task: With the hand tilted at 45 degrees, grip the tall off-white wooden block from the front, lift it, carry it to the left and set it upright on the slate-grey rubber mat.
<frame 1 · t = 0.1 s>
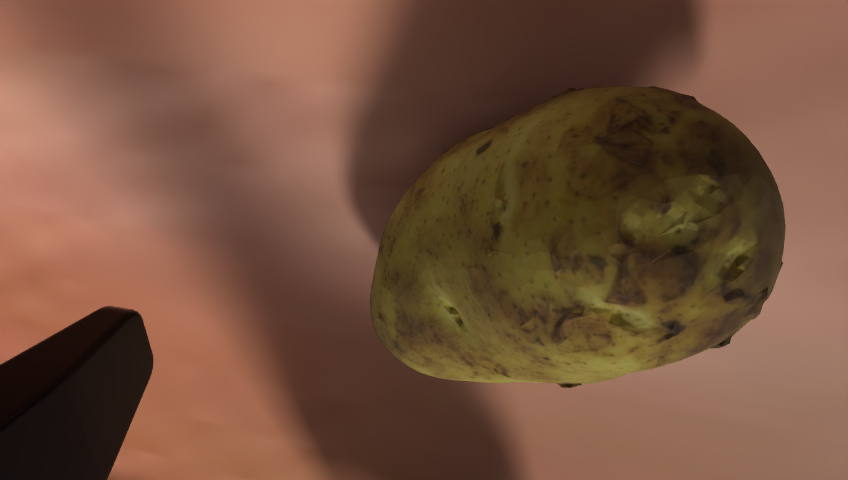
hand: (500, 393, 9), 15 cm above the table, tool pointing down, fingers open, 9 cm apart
potato: (543, 178, 24), on the table
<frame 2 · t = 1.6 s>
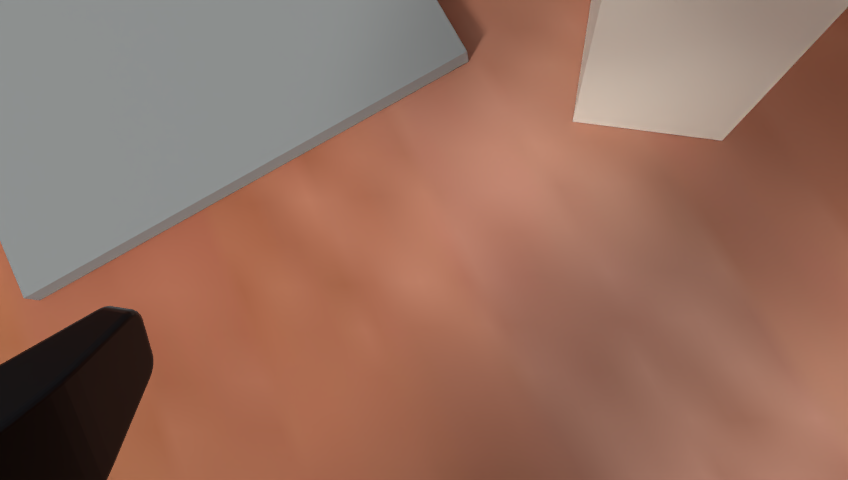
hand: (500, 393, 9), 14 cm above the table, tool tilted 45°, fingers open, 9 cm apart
tall block: (655, 61, 23), on the table
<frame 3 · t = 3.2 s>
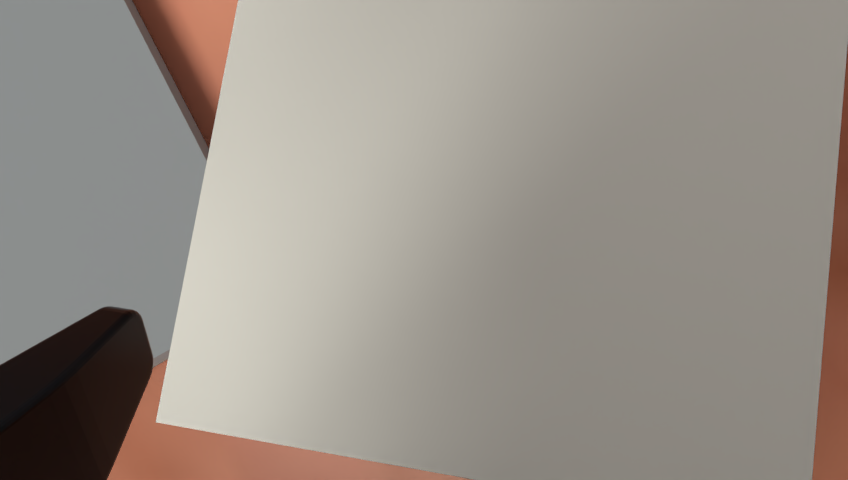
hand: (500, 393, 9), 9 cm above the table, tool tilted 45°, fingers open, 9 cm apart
tall block: (516, 297, 18), on the table
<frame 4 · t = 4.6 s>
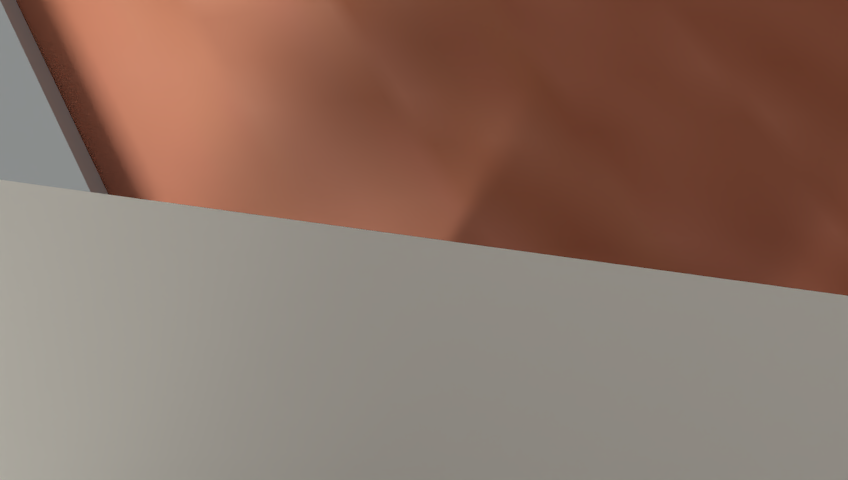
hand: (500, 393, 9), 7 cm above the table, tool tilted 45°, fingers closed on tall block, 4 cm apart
tall block: (500, 445, 15), on the table, touching gripper
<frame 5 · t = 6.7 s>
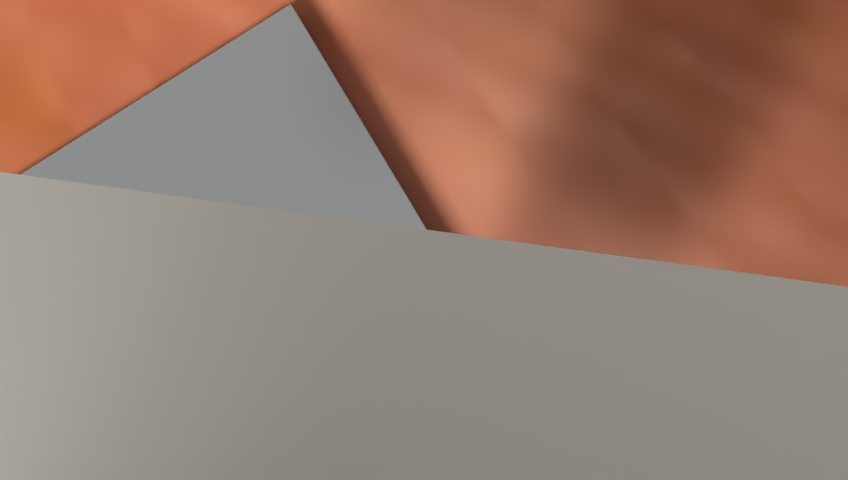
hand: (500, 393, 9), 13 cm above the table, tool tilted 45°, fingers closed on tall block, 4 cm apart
rubber mat: (201, 357, 23), on the table
tall block: (502, 444, 15), point 7 cm above the table, touching gripper
when the fingers open (9 cm above the table, at t = 8.8 s): tall block drops 1 cm, resting on rubber mat.
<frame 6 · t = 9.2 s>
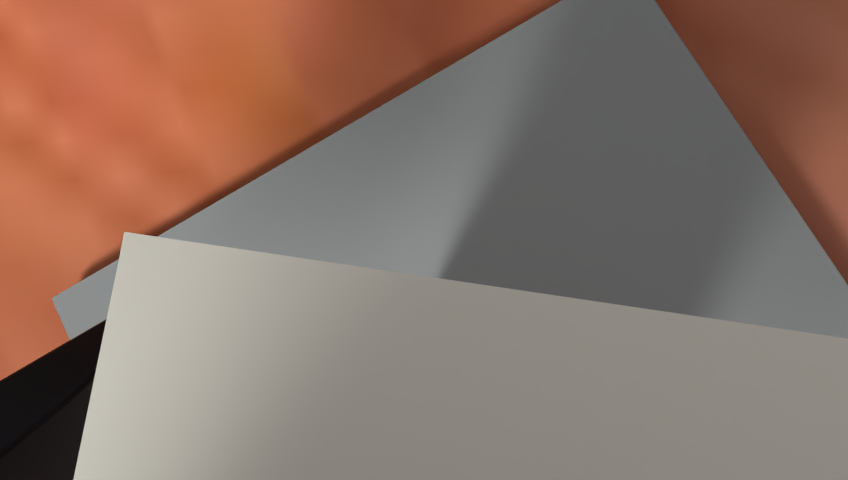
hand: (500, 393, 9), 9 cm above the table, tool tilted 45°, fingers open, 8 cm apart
rubber mat: (503, 431, 17), on the table
tall block: (505, 435, 16), point 1 cm above the table, touching rubber mat
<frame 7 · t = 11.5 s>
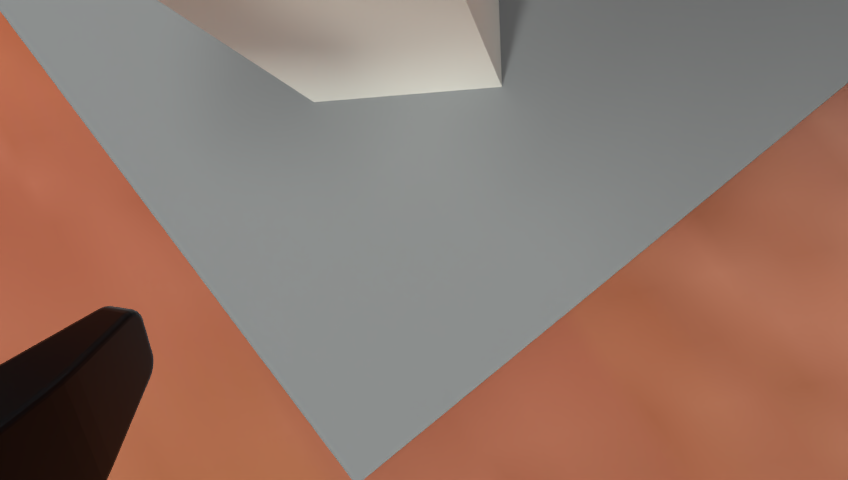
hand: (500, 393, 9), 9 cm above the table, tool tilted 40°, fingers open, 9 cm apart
rubber mat: (407, 13, 18), on the table
tall block: (402, 0, 18), point 1 cm above the table, touching rubber mat
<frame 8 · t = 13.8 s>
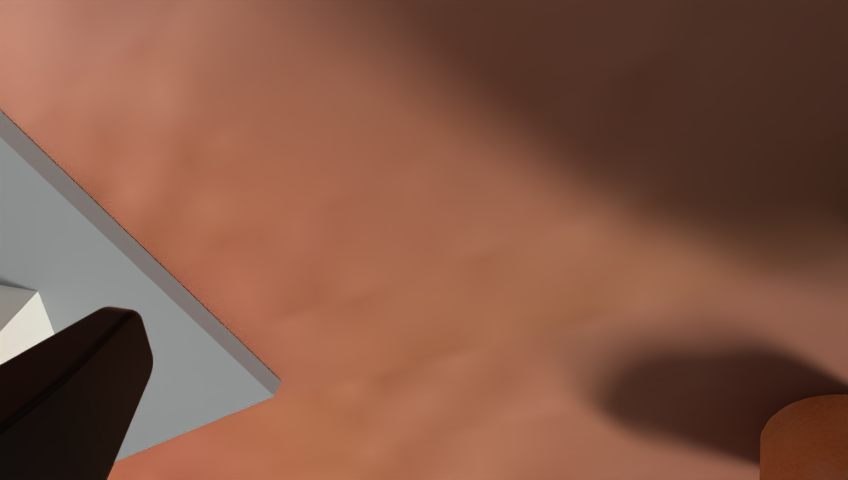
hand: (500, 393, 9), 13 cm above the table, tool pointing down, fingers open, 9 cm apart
rubber mat: (17, 313, 31), on the table
tall block: (3, 325, 30), point 1 cm above the table, touching rubber mat
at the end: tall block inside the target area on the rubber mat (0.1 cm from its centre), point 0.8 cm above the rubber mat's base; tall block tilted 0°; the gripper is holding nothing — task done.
